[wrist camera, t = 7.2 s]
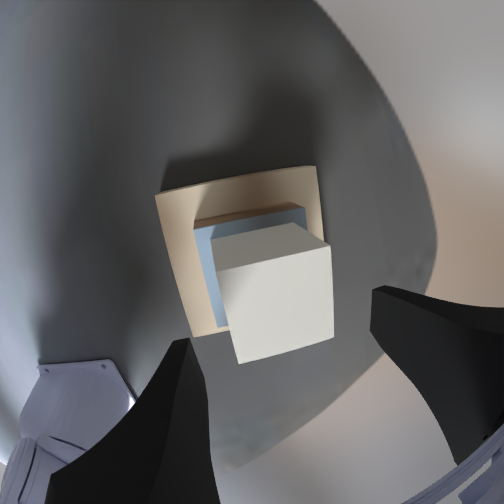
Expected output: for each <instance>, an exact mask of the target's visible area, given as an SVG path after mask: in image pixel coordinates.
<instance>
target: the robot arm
mask: <svg viewBox="0 0 504 504" xmlns="http://www.w3.org/2000/svg"><path fill="white" fill-rule="evenodd" d="M370 331H371V333H372V335H373V336H374V338H375V339H376V341H377V342H378V344H379V345H380V347H381V348H382V349H383V350H384V352H385V353H386V354H387V355H388V356H389V357H390V358H391V359H392V360H393V362H394V363H395V364H396V365H397V366H398V367H399V368H400V369H401V370H402V371H403V373H404V374H405V375H406V376H407V377H408V378H409V379H410V380H411V382H412V383H413V384H414V385H415V387H416V388H417V389H418V391H419V392H420V394H421V395H422V396H423V398H424V400H425V401H426V402H427V404H428V406H429V407H430V409H431V411H432V412H433V414H434V416H435V418H436V419H437V421H438V423H439V425H440V427H441V429H442V431H443V433H444V435H445V438H446V440H447V442H448V445H449V447H450V450H451V452H452V455H453V458H454V461H455V463H456V464H457V465H458V466H457V467H456V468H454V469H453V470H452V471H450V472H449V473H448V474H446V475H445V476H444V477H442V478H441V479H440V480H438V481H437V482H436V483H434V484H432V485H431V486H429V487H428V488H426V489H425V490H424V491H422V492H420V493H419V494H417V495H415V496H414V497H412V498H410V499H409V500H407V501H405V502H404V503H402V504H436V503H437V502H438V501H440V500H441V499H442V498H444V497H445V496H447V495H448V494H449V493H451V492H452V491H453V490H455V489H456V488H457V487H458V486H460V485H461V484H462V483H463V482H465V481H466V480H467V479H468V478H469V477H471V476H472V475H473V474H474V473H475V472H476V471H477V470H479V469H480V468H481V467H482V466H483V465H484V464H485V463H486V462H487V461H488V460H489V459H490V458H491V457H492V456H493V457H492V464H491V466H490V467H489V468H488V469H487V470H486V471H485V472H484V473H483V474H482V475H480V476H479V477H478V478H477V479H476V480H475V481H474V482H473V483H471V484H470V485H469V486H468V487H467V488H466V489H464V490H463V491H462V492H461V493H459V495H458V497H459V498H460V500H461V501H462V504H504V308H496V307H479V306H471V305H464V304H458V303H453V302H448V301H444V300H439V299H436V298H432V297H428V296H425V295H421V294H417V293H414V292H410V291H407V290H403V289H399V288H395V287H391V286H385V285H384V286H381V287H378V288H375V289H372V307H371V323H370ZM102 364H103V365H102ZM104 365H105V366H104ZM37 371H38V373H39V374H40V377H39V379H38V380H37V382H36V384H35V386H34V388H33V390H32V392H31V394H30V396H29V398H28V400H27V402H26V404H25V406H24V408H23V410H22V412H21V415H20V423H19V425H20V433H21V437H22V438H19V440H18V441H17V443H16V445H15V447H14V449H13V451H12V453H11V456H10V458H9V461H8V463H7V466H6V469H5V472H4V476H3V480H2V484H1V492H0V504H221V503H220V499H219V495H218V491H217V487H216V482H215V477H214V472H213V467H212V462H211V454H210V439H209V416H208V398H207V392H206V385H205V379H204V376H203V373H202V371H201V368H200V365H199V363H198V360H197V357H196V355H195V352H194V349H193V346H192V344H191V341H190V338H185V339H180V340H175V341H173V342H172V343H171V345H170V347H169V349H168V351H167V352H166V354H165V356H164V358H163V360H162V361H161V363H160V365H159V367H158V368H157V370H156V372H155V373H154V375H153V377H152V378H151V380H150V382H149V383H148V385H147V386H146V388H145V389H144V391H143V392H142V394H141V395H140V396H139V398H138V399H137V401H136V400H135V398H134V397H133V395H132V394H131V392H130V390H129V389H128V387H127V385H126V384H125V382H124V380H123V378H122V377H121V375H120V373H119V371H118V370H117V368H116V366H115V364H114V363H113V361H111V360H109V359H106V360H96V361H87V362H75V363H63V364H47V365H38V366H37Z"/></svg>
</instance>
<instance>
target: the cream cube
mask: <svg viewBox="0 0 504 504" xmlns="http://www.w3.org/2000/svg"><path fill="white" fill-rule="evenodd" d="M210 242H211V248H212V254H213V260H214V266H215V272H216V276H217V280H218V284H219V289H220V293H221V297H222V301H223V305H224V309H225V313H226V317H227V321H228V325H229V329H230V333H231V337H232V340H233V344H234V348H235V352H236V355H237V359H238V363H239V364H241V363H245V362H250V361H254V360H258V359H262V358H266V357H270V356H273V355H277V354H281V353H284V352H288V351H291V350H295V349H298V348H302V347H305V346H308V345H311V344H315V343H318V342H321V341H324V340H327V339H330V338H333V337H334V311H333V283H332V264H331V249H330V245H328V244H327V243H325V242H324V241H322V240H321V239H319V238H317V237H316V236H314V235H313V234H311V233H310V232H308V231H306V230H305V229H303V228H302V227H300V226H298V225H297V224H295V223H294V222H293V223H288V224H283V225H278V226H273V227H268V228H263V229H259V230H254V231H249V232H244V233H240V234H235V235H230V236H226V237H221V238H216V239H212V240H210Z"/></svg>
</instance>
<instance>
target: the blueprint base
mask: <svg viewBox="0 0 504 504" xmlns="http://www.w3.org/2000/svg"><path fill="white" fill-rule="evenodd" d="M155 200H156V204H157V209H158V213H159V217H160V222H161V226H162V230H163V234H164V238H165V242H166V246H167V250H168V254H169V257H170V261H171V265H172V268H173V272H174V276H175V279H176V283H177V286H178V289H179V293H180V296H181V299H182V303H183V306H184V309H185V312H186V316H187V319H188V322H189V325H190V328H191V331H192V334H193V337H198V336H203V335H208V334H213V333H218V332H222V331H227V330H230V329H229V325H228V321H227V317H226V313H225V309H224V305H223V301H222V297H221V293H220V289H219V284H218V280H217V276H216V272H215V266H214V260H213V254H212V248H211V242H210V240H212V239H216V238H221V237H226V236H230V235H235V234H240V233H244V232H249V231H254V230H259V229H263V228H268V227H273V226H278V225H283V224H288V223H293V222H294V223H295V224H297V225H298V226H300V227H302V228H303V229H305V230H306V231H308V232H310V233H311V234H313V235H314V236H316V237H317V238H319V239H321V240H322V241H324V238H323V226H322V216H321V206H320V197H319V188H318V180H317V172H316V166H297V167H290V168H283V169H276V170H270V171H263V172H257V173H251V174H245V175H240V176H234V177H229V178H223V179H218V180H213V181H208V182H203V183H199V184H194V185H189V186H185V187H180V188H176V189H171V190H167V191H163V192H159V193H158V194H156V195H155Z"/></svg>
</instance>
